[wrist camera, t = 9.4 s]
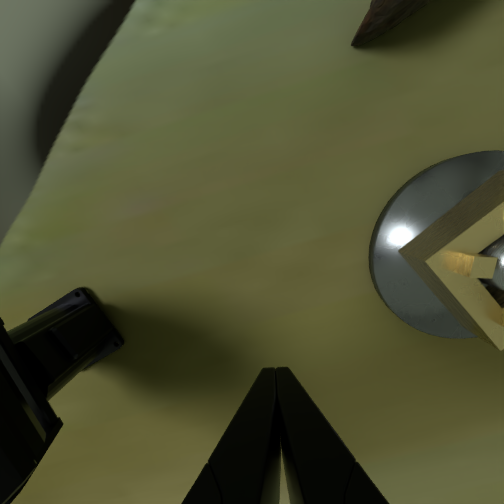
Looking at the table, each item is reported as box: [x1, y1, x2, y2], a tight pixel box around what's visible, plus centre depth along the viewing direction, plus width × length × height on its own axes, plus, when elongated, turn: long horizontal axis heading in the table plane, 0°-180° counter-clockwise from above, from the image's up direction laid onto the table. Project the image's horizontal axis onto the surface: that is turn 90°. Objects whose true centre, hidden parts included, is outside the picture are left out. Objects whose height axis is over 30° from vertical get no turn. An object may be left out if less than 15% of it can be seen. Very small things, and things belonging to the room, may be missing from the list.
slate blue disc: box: [369, 151, 504, 338], centre depth 15 cm, size 14×14×6 cm
